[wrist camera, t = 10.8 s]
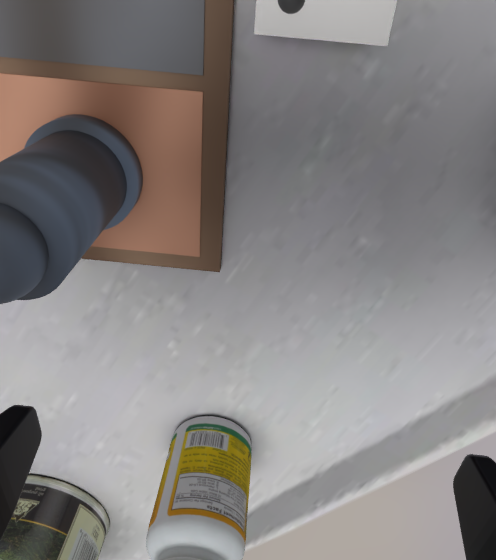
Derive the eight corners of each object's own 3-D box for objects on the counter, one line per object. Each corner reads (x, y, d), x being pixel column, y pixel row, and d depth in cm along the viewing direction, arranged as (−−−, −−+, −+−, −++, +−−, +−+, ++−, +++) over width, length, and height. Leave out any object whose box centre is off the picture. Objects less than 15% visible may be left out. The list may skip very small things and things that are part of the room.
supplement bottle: (215, 401, 27) (187, 569, 19) (269, 447, 29) (264, 617, 21) (155, 434, 29) (107, 599, 21) (209, 475, 31) (184, 640, 23)
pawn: (139, 119, 18) (34, 203, 10) (145, 226, 20) (64, 357, 13) (23, 108, 18) (-166, 184, 10) (43, 217, 21) (-97, 341, 13)
